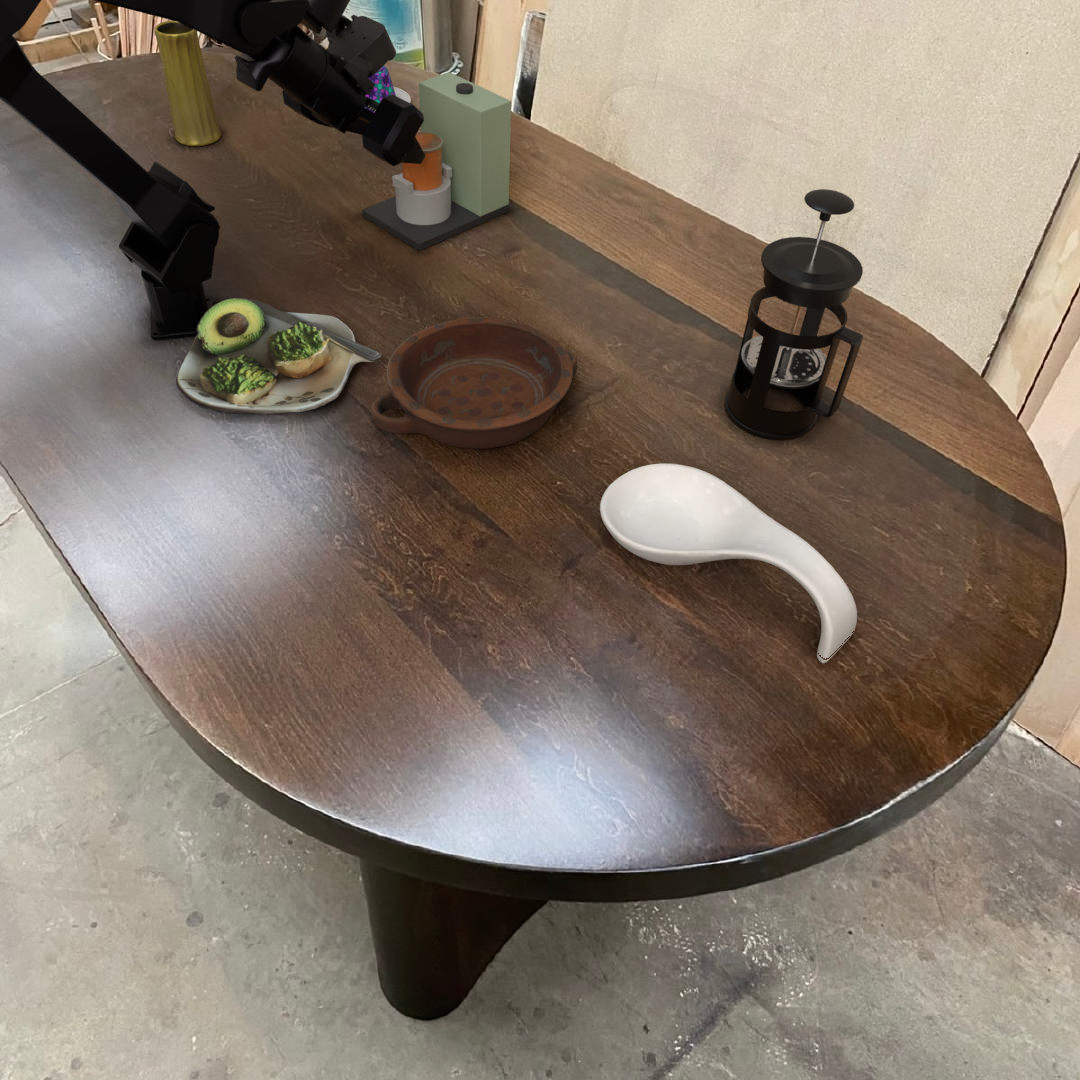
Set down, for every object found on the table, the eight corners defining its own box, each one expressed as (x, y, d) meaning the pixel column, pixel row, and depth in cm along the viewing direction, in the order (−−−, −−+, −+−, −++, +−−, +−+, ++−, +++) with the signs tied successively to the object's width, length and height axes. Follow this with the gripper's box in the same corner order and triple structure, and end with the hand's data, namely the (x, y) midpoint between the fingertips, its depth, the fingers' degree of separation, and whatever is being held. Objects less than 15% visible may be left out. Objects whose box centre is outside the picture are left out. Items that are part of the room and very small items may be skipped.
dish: (620, 425, 95) (626, 385, 92) (417, 497, 87) (415, 455, 83) (532, 333, 105) (534, 293, 102) (342, 390, 97) (337, 348, 93)
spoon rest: (570, 537, 84) (576, 477, 79) (652, 473, 91) (662, 413, 85) (802, 694, 74) (827, 637, 69) (876, 609, 80) (904, 551, 75)
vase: (201, 123, 137) (178, 15, 126) (230, 136, 134) (210, 27, 124) (166, 137, 133) (140, 27, 123) (196, 151, 131) (172, 39, 120)
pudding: (425, 99, 146) (424, 63, 142) (385, 128, 138) (382, 91, 134) (357, 82, 149) (354, 46, 145) (314, 110, 141) (309, 73, 137)
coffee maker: (419, 251, 116) (413, 130, 105) (362, 216, 121) (351, 98, 110) (508, 211, 123) (511, 95, 113) (451, 180, 129) (449, 66, 118)
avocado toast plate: (395, 325, 105) (392, 288, 102) (363, 431, 93) (359, 393, 89) (218, 310, 105) (210, 272, 102) (164, 414, 93) (152, 375, 89)
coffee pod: (448, 189, 116) (447, 149, 113) (405, 193, 115) (402, 152, 112) (439, 169, 120) (438, 129, 116) (398, 173, 119) (395, 133, 115)
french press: (700, 408, 98) (747, 194, 81) (748, 368, 103) (802, 158, 86) (802, 461, 93) (874, 245, 76) (847, 416, 98) (924, 204, 81)
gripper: (404, 24, 92) (487, 109, 106) (289, -27, 101) (380, 57, 115) (346, 129, 94) (436, 199, 108) (238, 69, 103) (334, 141, 116)
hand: (396, 145), depth 112 cm, fingers open, 9 cm apart
